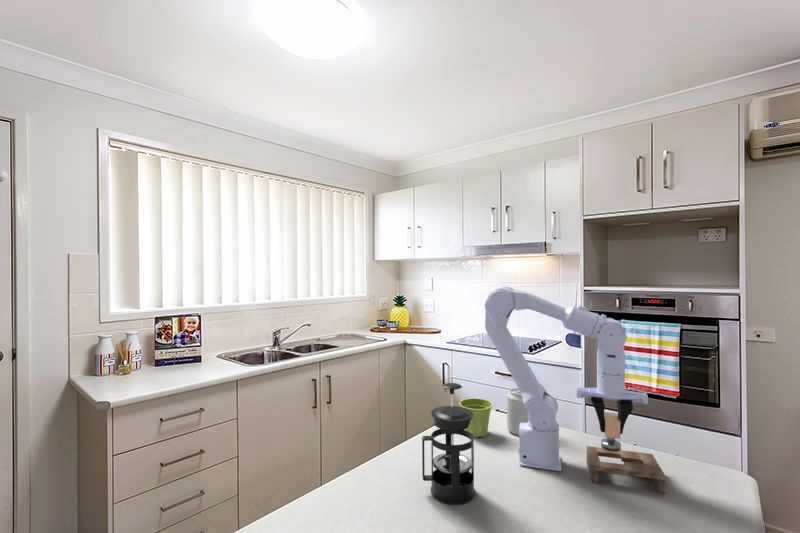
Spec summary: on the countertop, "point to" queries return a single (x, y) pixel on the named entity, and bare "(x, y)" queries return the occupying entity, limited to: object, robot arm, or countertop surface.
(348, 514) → the countertop surface
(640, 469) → the keyhole plate
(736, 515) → the countertop surface
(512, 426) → the can
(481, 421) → the plant pot
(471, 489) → the french press
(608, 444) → the peg
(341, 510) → the countertop surface
